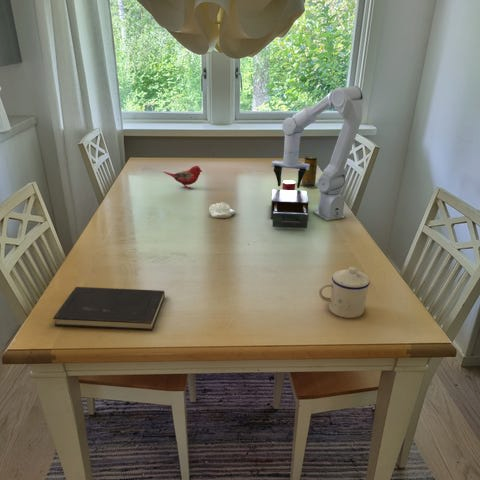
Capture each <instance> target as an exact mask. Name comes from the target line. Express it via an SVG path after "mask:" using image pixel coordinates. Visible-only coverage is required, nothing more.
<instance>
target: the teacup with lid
mask: <svg viewBox="0 0 480 480" xmlns="http://www.w3.org/2000/svg"><path fill="white" fill-rule="evenodd" d="M331 280H332V282H325V283H323V284H321V285H320V286H319V288H318V295H319V297H320V299H321V300H322V301H323V302H326V303H329V305H328V308H329V311H330V312H331V313H332V314H334V315H335V316H338V317H341V318H344V319H353V318H354V319H355V318H358V317H360V316H362V315H363V314H364V311H365V306H366V300H367V295H368V290H369V286H370V285H371V281H370V278H369V276H368V275H367V274H365V272H362V271H359V270H358V269H357V268H356V267H355V266H350V267H348V269H340V270H337V271H336V272H334V273H333V274H332V277H331ZM326 288H331V291H330V297H325V296H324V295H323V290H324V289H326Z"/></svg>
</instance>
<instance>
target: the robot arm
mask: <svg viewBox="0 0 480 480" xmlns="http://www.w3.org/2000/svg"><path fill="white" fill-rule="evenodd" d="M364 101H365V95H364V92H363V90H362V89H361V87H359V86H358V85H352V86H345V87H341V86H340V87H336V88H334V89H333V90H332V91H330V92H329V93H328V94H326V95H325V96H324V97H323V98H321V100H319V101H318V102H317V103H315V104H314V105H313V106H311V105H305V106H304V105H303V107H301V110H300V111H298V112H296V113H293V116H292V117H286V118H285V119H284V120H283V122H282V132H283V133H284V143H283V144H284V145H283V160H272V161H271V168H273V172H274V175H275V178H276V181H277V187H280V186H281V185H282V173H283V172H282V171H283V168H285V169H296V170H298V171H297V184H296V189H300V187H301V185H300V183H302V178H303V176H304V174H305V172H306V170H309V165H310V164H305V163H304V162H300V161H299V158H300V157H299V156H300V155H299V154H300V143H301V137H302V133H303V132H304V130H305V128H308V126H310V125H312V124H313V123H315V122H316V121H317V118H318V115H320V114H322V113H324V112H325V111H327V110H329V109H330V108H332V107H334V109H335V110H336V111H337V112H338V114H339V115H340V117H342V119H343V123H342V126H341V128H340V132H339V135H338V138H337V141H336V143H335V147H334V148H333V149H334V150H333V152H332V155H331V158H330V161H329V163H328V165H327V166H326V167H325V168H324V169H323V170H322V173H321V175H320V176H319V177H318V178H317V182H316V184H317V186H318V187H317V188H318V190H319V201H318V209H317V210H313V214H315V215H317V216H318V217H320V218H322V219H323V220H324V221H332V220H339V219H344V218H345V216H344V208H345V199H344V197H343V196H342V195H341V192H342V188H344V186H346V185H345V184H346V182H347V181H346V180H347V179H346V176H347V173H348V171H347V170H346V168H345V167H346V164H347V162H348V159H349V156H350V153H351V150H352V148H353V145H354V143H355V140H356V137H357V134H358V131H359V129H360V126H361V124H362V121H363V103H364Z"/></svg>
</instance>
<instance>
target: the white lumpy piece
mask: <svg viewBox="0 0 480 480" xmlns="http://www.w3.org/2000/svg"><path fill="white" fill-rule="evenodd" d="M208 212H209V214H210V215H211V217H212V218H214V219H215V218H217V219H225V218H230V217H232V216H233V215H234V214H235V212H236V211H235V210H234V209H232V208H231V206H230V205H229V204H228V203H226V202H224V201H221V202H219V203H218V202H216V203H212V204H211V205H209V208H208Z"/></svg>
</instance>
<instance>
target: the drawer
mask: <svg viewBox="0 0 480 480" xmlns="http://www.w3.org/2000/svg"><path fill="white" fill-rule="evenodd" d="M308 222H309V213H306V207H305V204H292V203H275V205H274V212H273V219H272V228H287V229H308Z"/></svg>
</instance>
